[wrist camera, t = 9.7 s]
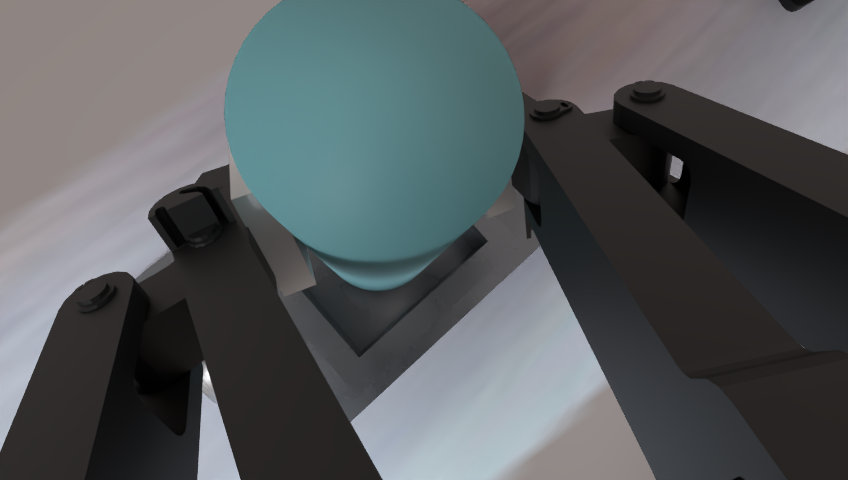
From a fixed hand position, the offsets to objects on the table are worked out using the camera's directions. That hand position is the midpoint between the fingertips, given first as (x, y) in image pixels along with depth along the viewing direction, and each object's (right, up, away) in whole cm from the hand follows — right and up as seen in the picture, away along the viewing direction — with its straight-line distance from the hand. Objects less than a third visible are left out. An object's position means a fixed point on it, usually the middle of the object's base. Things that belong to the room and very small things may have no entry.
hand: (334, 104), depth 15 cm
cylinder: (+1, -4, +4) cm, 6 cm away
